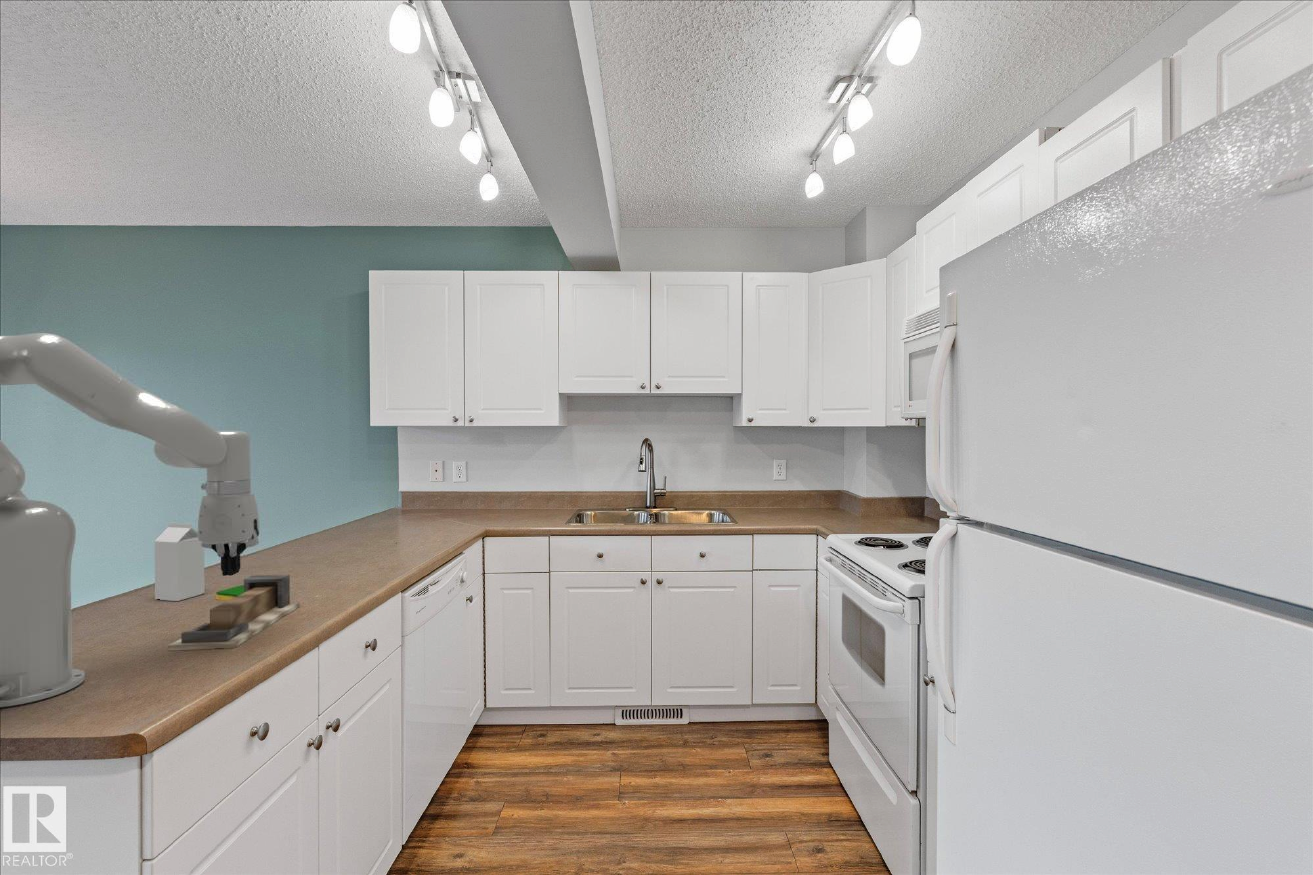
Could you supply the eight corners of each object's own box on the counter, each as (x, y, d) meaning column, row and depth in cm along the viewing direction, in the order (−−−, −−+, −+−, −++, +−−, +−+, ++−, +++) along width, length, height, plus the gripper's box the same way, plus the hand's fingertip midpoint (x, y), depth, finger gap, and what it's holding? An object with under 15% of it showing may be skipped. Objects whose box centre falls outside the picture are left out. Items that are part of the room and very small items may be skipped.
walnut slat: (230, 632, 122) (230, 609, 122) (209, 633, 121) (209, 609, 121) (276, 606, 140) (275, 585, 139) (258, 606, 139) (257, 585, 139)
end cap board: (233, 648, 116) (233, 607, 116) (167, 650, 115) (167, 609, 114) (299, 606, 143) (299, 573, 143) (246, 607, 141) (246, 574, 141)
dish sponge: (255, 606, 144) (255, 597, 144) (215, 601, 148) (215, 591, 148) (282, 598, 151) (282, 589, 151) (242, 593, 155) (242, 584, 155)
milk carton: (177, 601, 146) (177, 526, 145) (154, 600, 147) (154, 525, 147) (204, 593, 153) (204, 521, 152) (182, 592, 154) (182, 520, 154)
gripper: (178, 491, 120) (180, 580, 120) (257, 490, 121) (258, 577, 122) (202, 487, 127) (204, 570, 127) (276, 486, 129) (277, 568, 129)
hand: (230, 573), depth 125 cm, fingers closed
